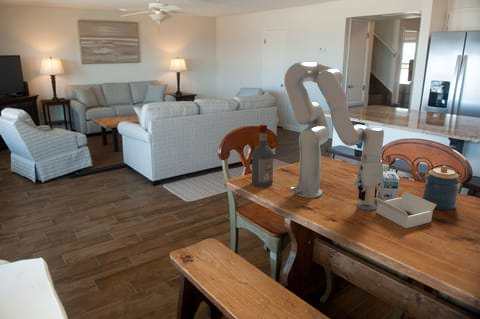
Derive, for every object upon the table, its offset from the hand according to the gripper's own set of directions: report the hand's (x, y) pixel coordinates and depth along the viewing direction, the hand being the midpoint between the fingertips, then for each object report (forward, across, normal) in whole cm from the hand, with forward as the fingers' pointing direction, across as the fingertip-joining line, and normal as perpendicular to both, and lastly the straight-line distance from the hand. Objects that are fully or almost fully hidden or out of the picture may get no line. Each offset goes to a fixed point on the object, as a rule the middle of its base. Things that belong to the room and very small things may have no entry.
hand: (367, 197), depth 155 cm
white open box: (+4, +6, -14) cm, 16 cm away
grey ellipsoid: (+4, 0, 0) cm, 4 cm away
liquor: (+4, -28, +43) cm, 51 cm away
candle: (+2, 0, 0) cm, 2 cm away
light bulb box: (+4, +17, +5) cm, 18 cm away
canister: (+4, +30, -11) cm, 32 cm away
